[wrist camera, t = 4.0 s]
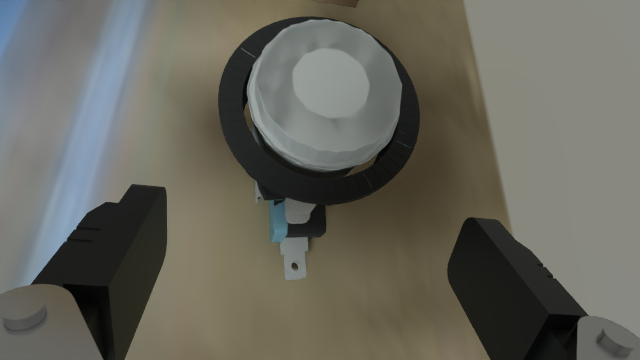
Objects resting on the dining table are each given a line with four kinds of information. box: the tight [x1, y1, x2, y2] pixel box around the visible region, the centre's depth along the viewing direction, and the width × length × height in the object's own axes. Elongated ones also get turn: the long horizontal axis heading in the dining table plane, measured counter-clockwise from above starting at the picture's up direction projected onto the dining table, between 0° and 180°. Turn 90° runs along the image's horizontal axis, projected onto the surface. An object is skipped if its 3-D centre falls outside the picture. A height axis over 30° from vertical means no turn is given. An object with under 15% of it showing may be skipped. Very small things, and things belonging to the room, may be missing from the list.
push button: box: [218, 17, 420, 280], centre depth 14 cm, size 7×5×10 cm
